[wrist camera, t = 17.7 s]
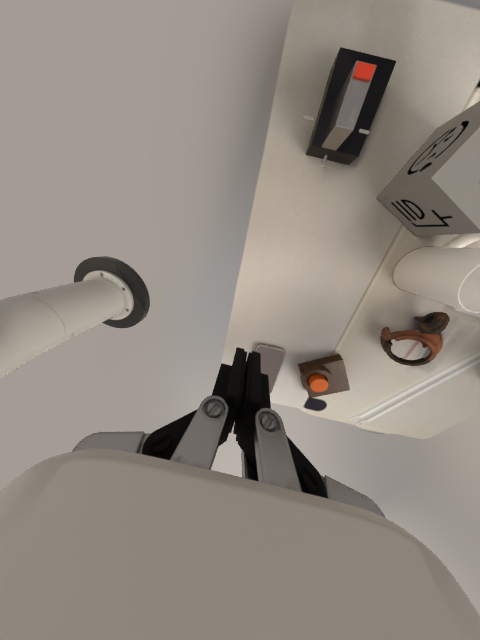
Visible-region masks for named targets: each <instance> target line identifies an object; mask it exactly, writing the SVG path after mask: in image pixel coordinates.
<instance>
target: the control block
mask: <svg viewBox="0 0 480 640" xmlns="http://www.w3.org/2000/svg"><path fill="white" fill-rule="evenodd" d="M298 366H299V369H300V372H301V380H302V383H303V386H304V388H306V389H307V391H308V394H309V397H310V398H312V397H317V396H322V395H327V394H332V393H337V392H342V391H347V390H350V388H349V384H348V379H347V375H346V371H345V366H344V362H343V359H342V358H341V356H340V355H339V354H337V355H333V356H329V357H326V358H322V359H318V360H314V361H310V362H306V363H302V364H298ZM315 374H321V375H323V376H324V377H325V378H326V380H327V382H328V388H327V389H326V390H325V391H323V392H315V391H313V390H312V389H311V388H310V385H309V382H308V380H309V378H310V377H311V376H312V375H315Z"/></svg>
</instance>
